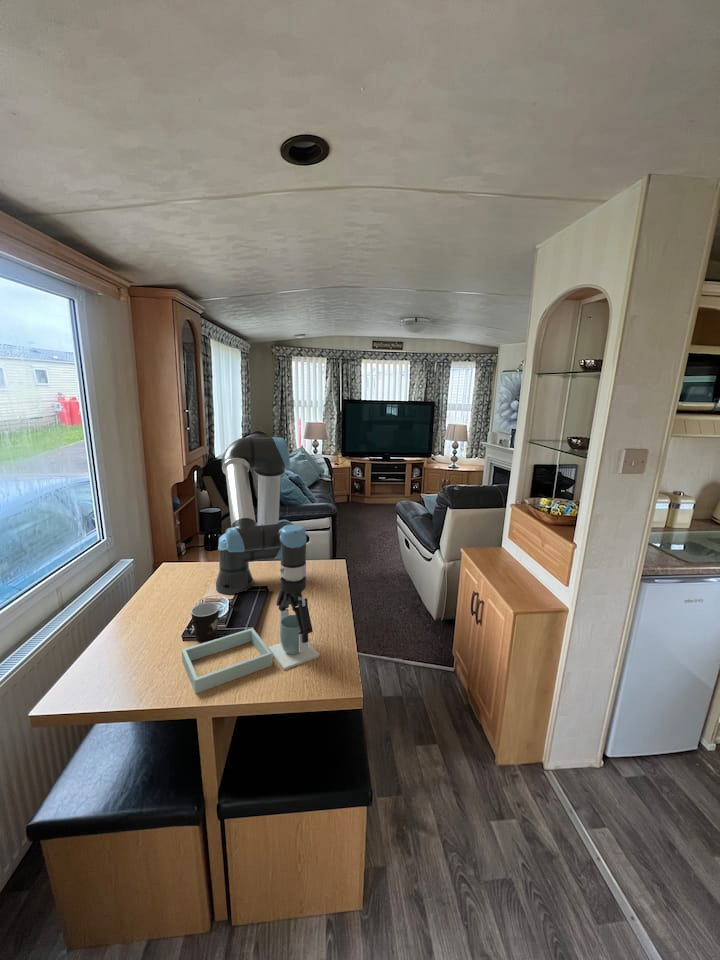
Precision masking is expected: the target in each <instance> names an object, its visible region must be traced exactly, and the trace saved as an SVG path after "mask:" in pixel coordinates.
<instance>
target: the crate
mask: <svg viewBox="0 0 720 960" xmlns="http://www.w3.org/2000/svg"><path fill="white" fill-rule="evenodd" d="M247 643H252V644H253V646H254V647H255V649H256V650H257V651H258V653H259V654H260V655H257V656H255V657H252V658H249V659H246V660H243V661H240V662H238V663H237V662H236V663H234V664H231V665H229V666H226V667H223V668H220V669H217V670H214V671H211V672H209V673H206V674H203V675H201V676H198V675H197V672H196V671H195V670H196V669H195V668H194V666H193V663H192V661H194V660H197V659H198V660H199V659H201V658H204V657H207V656H210V655H214V654H216V653H219V652H222V651H225V650H229V649H232V648H235V647H238V646H241V645H244V644H247ZM268 647H269V646H267V645H266V643H265V642H264V640H263V639H262V638H261V637H260V635H259V634H258V632H256V630H255V629H254V627H251V628H248V629H244V630H241V631H238V632H235V633H231V634H229V635H226V636H222V637H219V638H215V639H214V640H212V641H208V642H201V643H199V644H196V645H193V646H189V647H186V648H183V649H181V658H182V659H181V661H182V664H183V666H184V670H185V671H186V673H187V676H188V678H189V679H188V680H189V681H190V684H191V686H192V689H193V691H194V694H195V695H196V694H198V693H202V692H204V691H206V690H210V689H212V688H215V687H218V686H220V685H223V684H226V683H228V682H231V681H233V680H236V679H239V678H242V677H245V676H247V675H251V674H252V673H253V674H254V673H255V672H258V671H260V670H263V669H265V668H269V667H271V666H273V655H272V653H271V651H270V650H269V649H268Z"/></svg>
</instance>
